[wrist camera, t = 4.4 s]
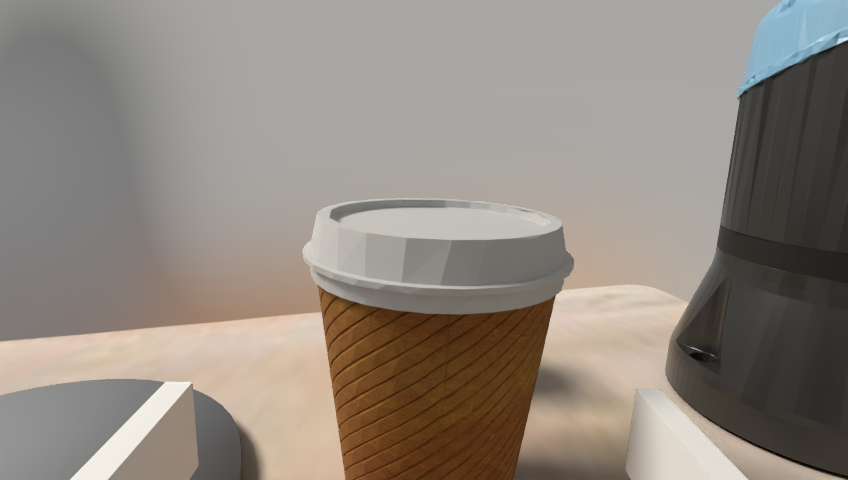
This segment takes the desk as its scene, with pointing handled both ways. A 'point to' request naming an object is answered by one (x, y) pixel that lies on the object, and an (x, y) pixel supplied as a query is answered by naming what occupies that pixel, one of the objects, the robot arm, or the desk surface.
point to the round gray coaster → (99, 428)
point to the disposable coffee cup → (434, 331)
